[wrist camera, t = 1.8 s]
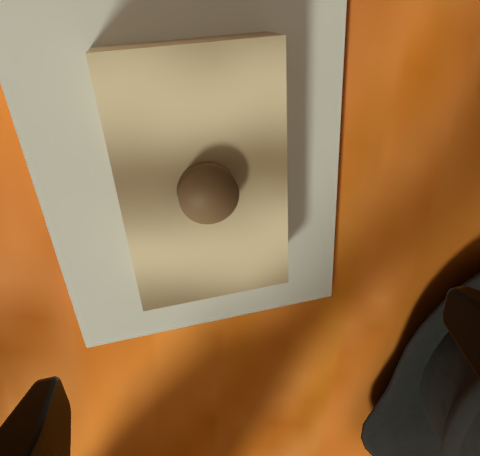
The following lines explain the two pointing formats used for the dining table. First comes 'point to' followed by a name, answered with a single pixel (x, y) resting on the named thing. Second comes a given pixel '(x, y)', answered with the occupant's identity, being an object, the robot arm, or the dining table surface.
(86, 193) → the mat
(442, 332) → the casserole
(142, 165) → the lid
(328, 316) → the dining table surface
